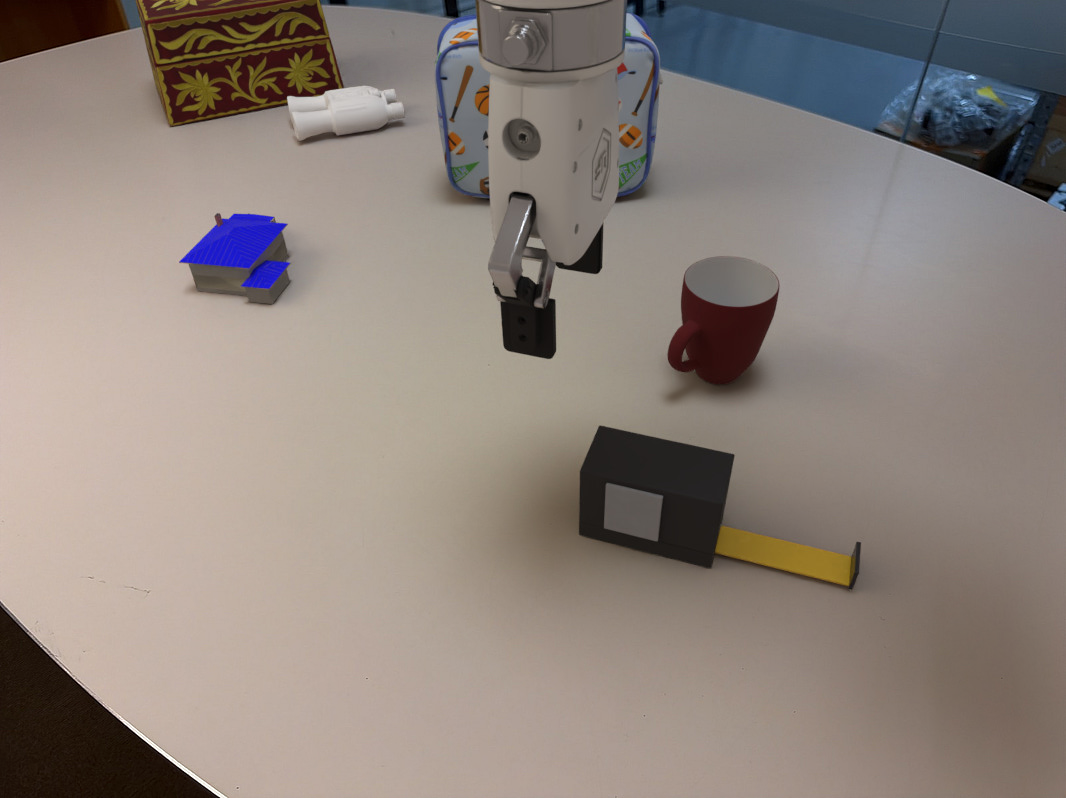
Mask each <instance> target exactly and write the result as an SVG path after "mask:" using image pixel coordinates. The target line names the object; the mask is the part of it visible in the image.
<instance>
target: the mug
mask: <svg viewBox="0 0 1066 798" xmlns="http://www.w3.org/2000/svg"><path fill="white" fill-rule="evenodd" d="M780 285H781V284H780V280H779V278H778V277H777V275H776V274H775V272H774V271H773V270H771V269H770V268H769V267H768V266H766V265H764V264H763V263H760V262H758V261H755V260H752V259H750V258H747V257H746V258H745V257H740V256H733V255H732V256H731V255H719V256H711V257H707V258H704V259H701V260H698V261H696V262H694V263H692V264H691V265H690V266H689V267H688V268H687V269H686V270H685V271H684V274H683V279H682V286H681V293H680V294H681V295H680V314H681V322H682V323H681V324H682V325H681V326H679V327H678V328H677V329H676V331H675V332H674V334H673V335H672V337H671V339H670V341H669V345H668V348H667V361H668V364H669V365H670V367H671V368H673V369H674V370H675V371H677V372H680V373H685V374H686V373H690V372H693V371H694V372H695V374H696V375H697V376H698V378H700V379H701V380H702V381H703V382H705V383H709V384H712V385H717V386H719V385H722V386H723V385H729V384H732V383H734V382H735V381H736V380H738V379H739V378H740V377H741V376H742V375H743V374H744V373H745V372H746V371H747V370H748V369H749V368H750V367H751V366H752V364H753V363H754V361H755V360H756V358H757V357H758V355H759V352H760V350H761V348H762V346H763V344H764V341H765V339H766V337H767V333H768V332H769V329H770V326H771V324H772V322H773V320H774V317H775V312H776V310H777V305H778V300H779V294H780V287H781V286H780ZM684 352H685V353H686V356H687V359H686V360H683V355H684Z"/></svg>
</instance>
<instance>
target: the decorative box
mask: <svg viewBox="0 0 1066 798" xmlns="http://www.w3.org/2000/svg"><path fill="white" fill-rule="evenodd" d="M134 1H135V5H136V9H137V13H138V18H139V21H140V26H141V30H142V31H141V32H142V35H143V38H144V43H145V48H146V52H147V55H148V59H149V63H150V64H149V65H150V68H151V73H152V77H153V80H154V84H155V89H156V92H157V94H158V97H159V100H160V103H161V107H162V110H163V112H164V116H165V118H166V121H167V124H168V125H169V127H175V126H180V125H185V124H191V123H197V122H201V121H207V120H212V119H213V120H214V119H217V118H218V119H219V118H222V117H228V116H233V115H238V114H243V113H249V112H255V111H259V110H265V109H270V108H276V107H280V106H286V105H287V106H288V101H287V96H294V97H317V96H321V95H323V94H324V93H325V91H329V90H336V89H343V88H345V86H344V82H343V79H342V75H341V71H340V67H339V63H338V60H337V57H336V53H335V50H334V45H333V43H332V39H331V37H330V32H329V28H328V23H327V21H326V17H325V13H324V10H323V7H322V2H321V0H134Z"/></svg>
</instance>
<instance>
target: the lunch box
mask: <svg viewBox="0 0 1066 798" xmlns="http://www.w3.org/2000/svg"><path fill="white" fill-rule="evenodd" d="M490 75H491V73H489V72H488V71H486V70H485V69H484V68H483V67H482V66H481V64H480V61H479V48H478V34H477V20H476V13H474V14H469V15H468V14H467V15H462V16H460V17H456V18H454V19H452V20H451V21H449V22H448V23H447V24H446V25H445V26H444V27H443V28H442V30H441V31H440V33H439V35H438V39H437V45H436V59H435V63H434V87H435V99H436V110H437V112H436V113H437V120H438V129H439V136H440V141H441V146H442V147H441V148H442V153H443V160H444V165H445V171H446V176H447V179H448V183H449V184H450V185H451V187H452V188H453V189H454V190H455V191H456V192H458V193H460V194H462V195H465V196H468V197H472V198H479V199H481V198H482V199H490V191H489V155H488V123H489V87H490ZM617 75H618V98H619V189H618V194H617V197H623V196H628V195H630V194H632V193H634V192H636V191H638V190H639V189H640V188H641V187H642V186H643V185H644V184H645V183H646V181H647V180H648V178H649V175H650V172H651V168H652V164H653V158H654V154H655V153H654V152H655V148H656V147H655V146H656V139H657V129H658V118H659V106H660V104H659V103H660V85H663V83H664V80H663V77H662V73H661V56H660V52H659V49H658V46H657V45H656V44H655V42H654V41H653V37H652V33H651V30H650V27H649V25H648V24H647V21H645V20H644V19H643V18H642V17H640V16H638V15H637V14H635V13H632V12H627V13H626V38H625V58H624V61H623V62H622V63H621V65H620V66H619V67H617Z"/></svg>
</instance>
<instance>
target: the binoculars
mask: <svg viewBox="0 0 1066 798" xmlns="http://www.w3.org/2000/svg"><path fill="white" fill-rule="evenodd" d="M287 101H288V104H287V106H288V112H289V116H290V121H291V123H292V128H293V130H294V134H295V137H296V139H297V141H298V142H300V141H301V142H302V141H304V140H305V139H307V138H311V137H314V136H317V135H320V134H323V133H332V132H333V133H334V134H336V136H344V135H350V134H356V133H362V132H369V131H375V130H379V129H381V128H383V127H384V126H385V125H387V124H388V123H389V121H390V120H392V121H393V120H400V119H405V109H404V105H403V103H402V101H399V102H397V101H398V100H397V95H396V90H395V89H394V88H389V89H382V90H379V89H378V88H376V87H373V86H369V85H360V86H351V87H344V88H343V89H336V90H329V91H325V93H324V94H323V95H321V96H317V97H294V96H287Z"/></svg>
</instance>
